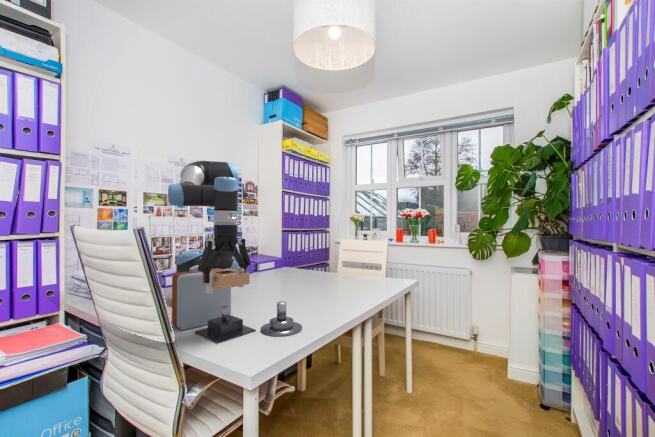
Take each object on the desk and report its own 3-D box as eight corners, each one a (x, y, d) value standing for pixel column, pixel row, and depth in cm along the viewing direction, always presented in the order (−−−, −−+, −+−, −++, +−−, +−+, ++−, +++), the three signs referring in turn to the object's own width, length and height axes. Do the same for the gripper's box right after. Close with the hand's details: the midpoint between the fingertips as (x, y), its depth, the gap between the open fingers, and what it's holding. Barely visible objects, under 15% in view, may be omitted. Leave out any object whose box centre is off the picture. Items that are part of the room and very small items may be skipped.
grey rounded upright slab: (221, 314, 123) (221, 262, 123) (231, 319, 117) (232, 264, 117) (171, 325, 110) (171, 267, 110) (180, 331, 104) (180, 269, 104)
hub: (252, 329, 106) (252, 303, 106) (283, 319, 116) (283, 295, 117) (279, 339, 97) (279, 310, 97) (310, 328, 108) (310, 301, 108)
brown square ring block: (201, 284, 103) (201, 272, 103) (230, 279, 112) (230, 268, 112) (219, 289, 96) (219, 276, 96) (249, 283, 105) (249, 272, 105)
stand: (194, 332, 103) (194, 306, 103) (231, 322, 113) (231, 298, 114) (217, 343, 94) (217, 315, 94) (255, 331, 104) (255, 305, 105)
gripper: (197, 225, 92) (197, 298, 93) (261, 223, 110) (260, 285, 111) (185, 224, 97) (185, 294, 98) (248, 223, 115) (248, 282, 116)
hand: (225, 289), depth 104 cm, fingers closed on brown square ring block, 11 cm apart
